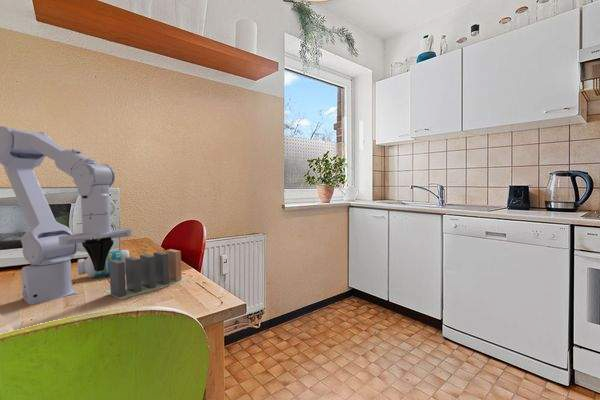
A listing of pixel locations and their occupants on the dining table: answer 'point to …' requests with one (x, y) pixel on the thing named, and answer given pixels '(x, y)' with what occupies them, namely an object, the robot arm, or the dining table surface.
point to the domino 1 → (117, 278)
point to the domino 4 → (161, 268)
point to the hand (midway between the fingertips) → (99, 270)
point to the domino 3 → (148, 271)
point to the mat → (146, 289)
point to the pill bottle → (88, 267)
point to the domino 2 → (133, 274)
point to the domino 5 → (174, 264)
